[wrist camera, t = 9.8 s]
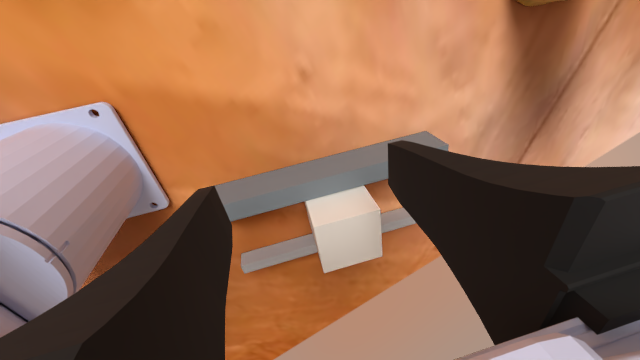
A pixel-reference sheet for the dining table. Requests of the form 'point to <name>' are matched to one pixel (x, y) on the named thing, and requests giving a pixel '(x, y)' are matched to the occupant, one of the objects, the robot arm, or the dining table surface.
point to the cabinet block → (345, 228)
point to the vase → (536, 2)
